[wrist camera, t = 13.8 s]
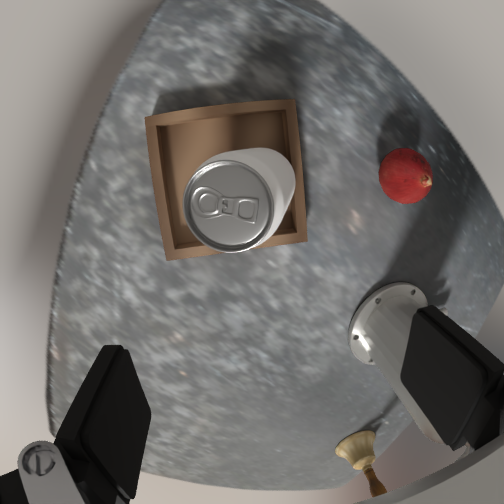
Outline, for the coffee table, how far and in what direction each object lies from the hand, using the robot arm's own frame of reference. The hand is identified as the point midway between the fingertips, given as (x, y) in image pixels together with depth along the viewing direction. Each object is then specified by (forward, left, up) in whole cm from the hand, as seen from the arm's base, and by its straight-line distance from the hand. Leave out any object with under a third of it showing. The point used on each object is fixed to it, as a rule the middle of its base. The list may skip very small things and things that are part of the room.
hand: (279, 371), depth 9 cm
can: (-3, -4, -22) cm, 22 cm away
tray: (0, -4, -23) cm, 24 cm away
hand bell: (-17, +45, -24) cm, 53 cm away
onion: (-18, -3, -24) cm, 30 cm away
